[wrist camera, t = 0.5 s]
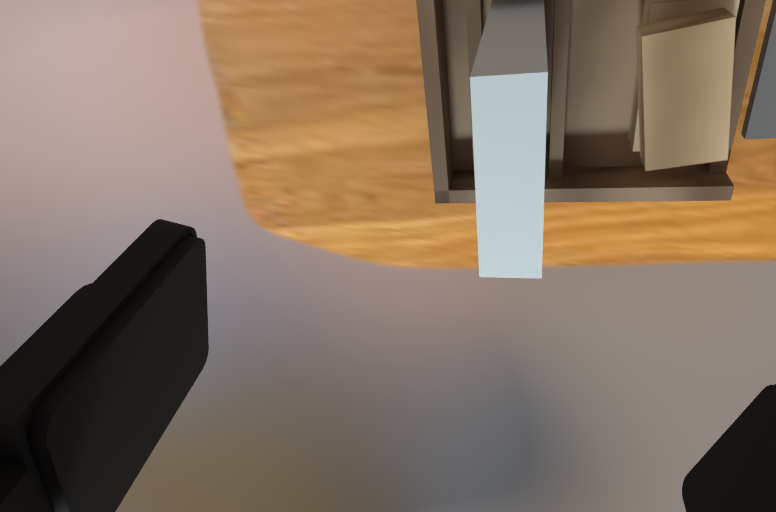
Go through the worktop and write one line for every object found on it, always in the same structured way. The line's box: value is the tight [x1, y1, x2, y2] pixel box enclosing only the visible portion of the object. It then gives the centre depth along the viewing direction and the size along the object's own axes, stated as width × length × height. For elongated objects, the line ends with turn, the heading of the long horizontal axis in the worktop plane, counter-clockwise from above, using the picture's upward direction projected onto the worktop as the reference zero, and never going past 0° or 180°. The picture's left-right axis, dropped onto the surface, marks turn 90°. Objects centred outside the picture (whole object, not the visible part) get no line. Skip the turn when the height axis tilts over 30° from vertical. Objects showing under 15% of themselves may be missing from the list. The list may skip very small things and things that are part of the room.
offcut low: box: [628, 0, 740, 152], centre depth 27 cm, size 4×7×2 cm, turn 7°
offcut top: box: [636, 7, 736, 171], centre depth 25 cm, size 4×6×2 cm, turn 15°
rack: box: [416, 0, 766, 203], centre depth 28 cm, size 15×12×4 cm
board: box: [470, 0, 548, 278], centre depth 24 cm, size 2×8×12 cm, turn 7°
